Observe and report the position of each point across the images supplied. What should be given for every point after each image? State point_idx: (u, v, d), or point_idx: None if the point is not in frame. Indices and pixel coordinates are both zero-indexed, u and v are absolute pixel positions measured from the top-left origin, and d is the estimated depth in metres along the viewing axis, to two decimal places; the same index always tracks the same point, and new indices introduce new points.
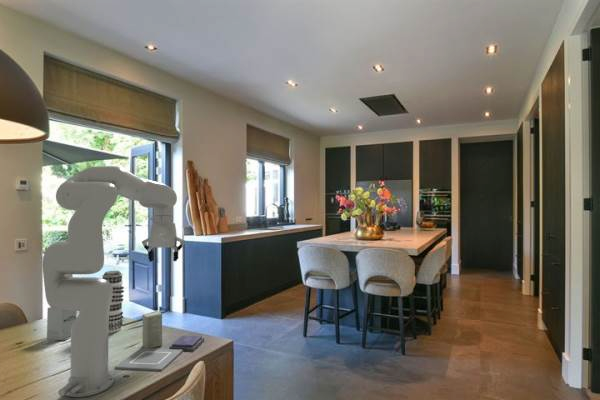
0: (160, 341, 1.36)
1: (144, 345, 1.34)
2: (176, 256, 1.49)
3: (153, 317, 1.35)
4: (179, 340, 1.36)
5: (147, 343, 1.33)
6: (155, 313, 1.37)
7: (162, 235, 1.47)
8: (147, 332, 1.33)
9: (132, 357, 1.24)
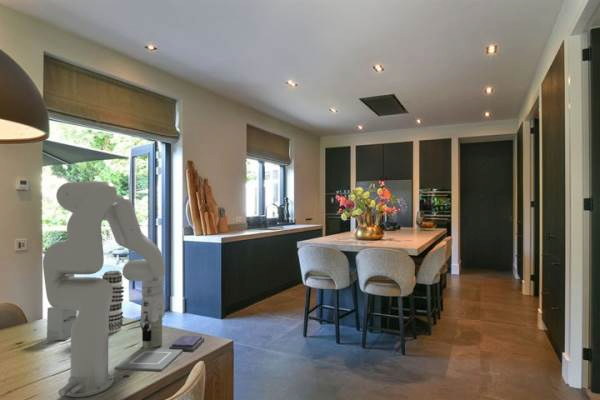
0: (160, 341, 1.36)
1: (144, 345, 1.34)
2: None
3: None
4: (179, 340, 1.36)
5: (147, 343, 1.33)
6: None
7: (160, 306, 1.37)
8: None
9: (132, 357, 1.24)
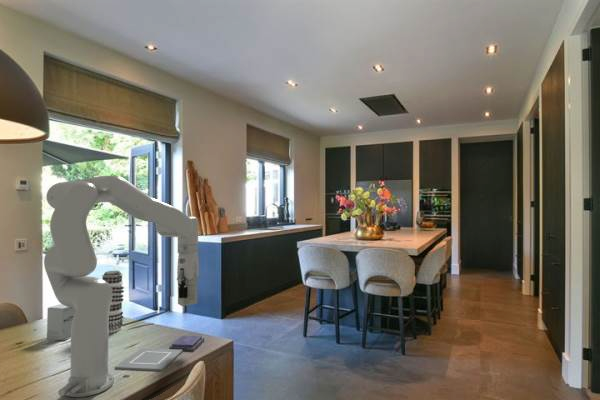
0: (195, 299, 1.37)
1: (180, 302, 1.35)
2: None
3: None
4: (179, 340, 1.36)
5: (183, 300, 1.34)
6: None
7: (195, 265, 1.38)
8: None
9: (132, 357, 1.24)
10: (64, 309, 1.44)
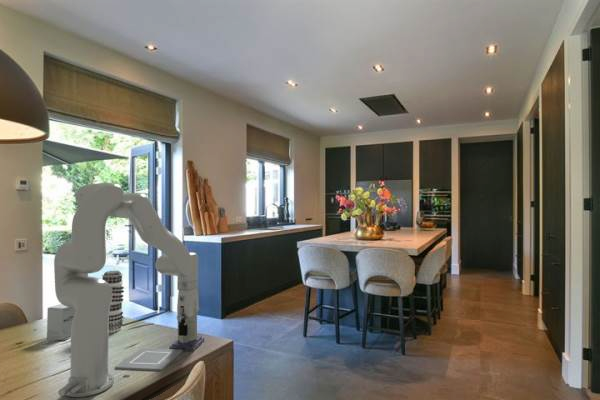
0: (195, 335, 1.37)
1: (180, 339, 1.35)
2: None
3: None
4: None
5: (183, 337, 1.34)
6: None
7: (195, 301, 1.38)
8: None
9: (132, 357, 1.24)
10: (64, 309, 1.44)
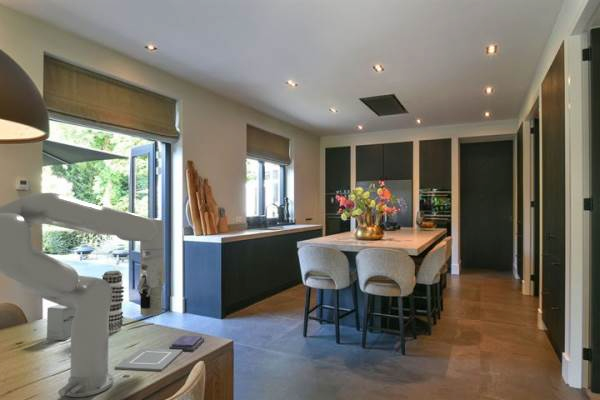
0: (160, 309, 1.24)
1: (142, 313, 1.22)
2: None
3: None
4: (179, 340, 1.36)
5: (145, 310, 1.21)
6: None
7: (159, 271, 1.25)
8: None
9: (132, 357, 1.24)
10: (64, 309, 1.44)
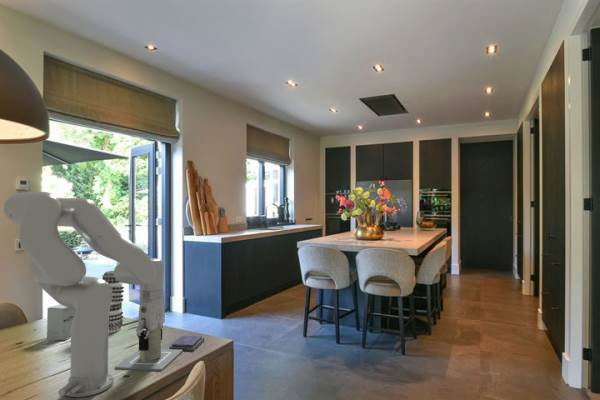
0: (159, 353, 1.23)
1: (141, 358, 1.21)
2: None
3: None
4: (179, 340, 1.36)
5: (144, 355, 1.20)
6: None
7: (159, 312, 1.24)
8: None
9: (132, 357, 1.24)
10: (64, 309, 1.44)
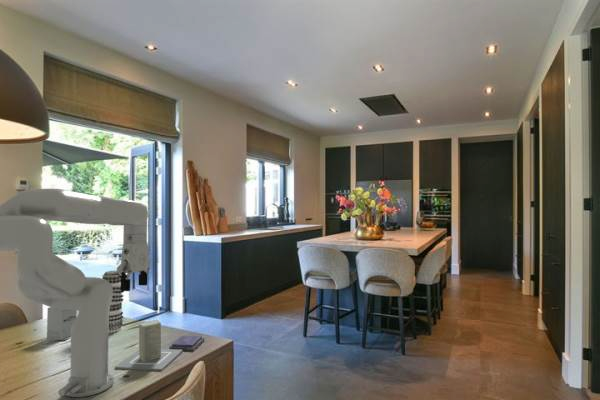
0: (159, 353, 1.23)
1: (141, 358, 1.21)
2: None
3: (150, 327, 1.22)
4: (179, 340, 1.36)
5: (144, 355, 1.20)
6: (153, 322, 1.24)
7: (142, 256, 1.26)
8: (144, 343, 1.20)
9: (132, 357, 1.24)
10: None
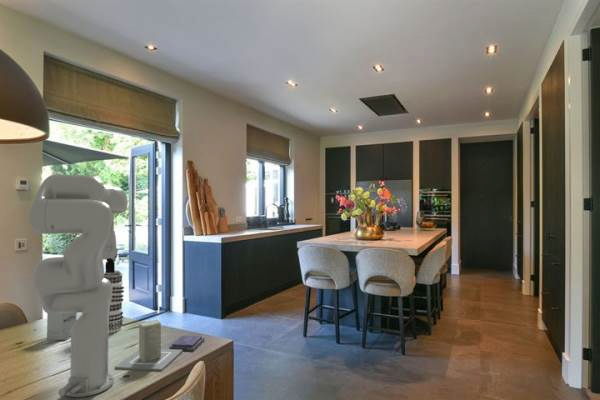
0: (159, 353, 1.23)
1: (141, 358, 1.21)
2: None
3: (150, 327, 1.22)
4: (179, 340, 1.36)
5: (144, 355, 1.20)
6: (153, 322, 1.24)
7: (109, 244, 1.29)
8: (144, 343, 1.20)
9: (132, 357, 1.24)
10: None
